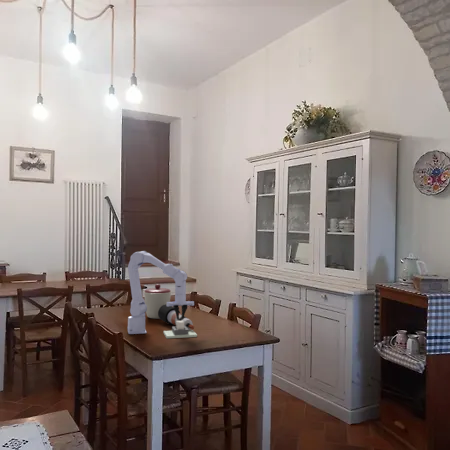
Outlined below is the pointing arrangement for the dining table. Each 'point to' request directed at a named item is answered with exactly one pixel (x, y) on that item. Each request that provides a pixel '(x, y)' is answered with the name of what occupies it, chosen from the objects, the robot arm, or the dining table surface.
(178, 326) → the plug
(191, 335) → the board
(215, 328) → the dining table surface
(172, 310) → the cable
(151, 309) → the canister
